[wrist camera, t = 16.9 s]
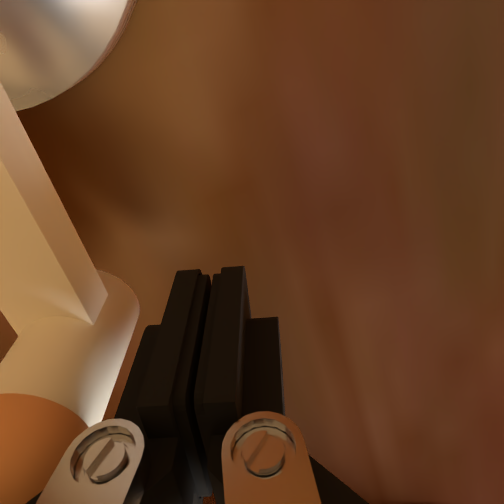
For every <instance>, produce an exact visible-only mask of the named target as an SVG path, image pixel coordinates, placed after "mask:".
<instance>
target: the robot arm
mask: <svg viewBox="0 0 504 504" xmlns="http://www.w3.org/2000/svg"><path fill="white" fill-rule="evenodd" d="M212 490H213V493H214V496H215V500H216V504H369V503H367V502H366V501H365V500H364V499H362V498H361V497H360V496H359V495H357V494H356V493H355V492H354V491H353V490H351V489H350V488H349V487H348V486H346V485H345V484H344V483H343V482H341V481H340V480H339V479H338V478H337V477H335V476H334V475H333V474H332V473H330V472H329V471H328V470H327V469H325V468H324V467H323V466H322V465H321V464H319V463H318V462H317V461H316V460H314V459H313V458H312V457H311V456H309V455H308V452H307V448H306V445H305V441H304V438H303V436H302V434H301V431H300V429H299V428H298V427H297V426H296V424H295V423H294V422H293V421H292V420H291V419H289V418H287V417H285V406H284V389H283V373H282V358H281V344H280V332H279V321H278V317H269V318H254V319H251V311H250V304H249V296H248V288H247V280H246V273H245V267H244V266H237V267H223V268H222V269H221V274H214V275H213V280H212V286H211V280H210V276H209V275H202V273H201V270H200V269H196V270H183V271H177V273H176V275H175V279H174V282H173V286H172V289H171V292H170V296H169V299H168V302H167V306H166V309H165V312H164V316H163V319H162V322H161V325H148V326H147V327H146V329H145V331H144V333H143V336H142V339H141V342H140V345H139V348H138V351H137V353H136V356H135V359H134V362H133V365H132V368H131V371H130V374H129V377H128V380H127V383H126V386H125V389H124V391H123V394H122V397H121V400H120V403H119V406H118V409H117V412H116V415H115V418H114V419H108V420H105V421H102V422H99V423H96V424H94V425H93V426H91V427H89V428H87V429H86V430H84V431H83V432H82V433H81V434H80V435H79V436H77V437H76V438H75V439H74V441H73V442H72V443H71V445H70V446H69V447H68V449H67V450H66V452H65V453H64V455H63V457H62V459H61V460H60V462H59V464H58V466H57V467H56V469H55V471H54V472H53V474H52V476H51V478H50V479H49V481H48V483H47V485H46V486H45V488H44V490H43V491H41V492H40V493H39V494H37V495H36V496H35V497H33V498H32V499H31V500H29V501H28V502H27V503H25V504H203V497H208V496H211V495H212Z"/></svg>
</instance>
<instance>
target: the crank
mask: <svg viewBox="0 0 504 504" xmlns="http://www.w3.org/2000/svg"><path fill="white" fill-rule="evenodd" d="M0 311H1V312H2V313H3V315H4V316H5V318H6V319H7V320H8V322H9V323H10V325H11V326H12V328H13V329H14V330H15V332H16V333H17V335H18V338H17V339H16V341H15V342H14V344H13V345H12V347H11V348H10V350H9V351H8V353H7V354H6V356H5V357H4V359H3V360H2V362H1V363H0V504H25V503H27V502H28V501H29V500H31V499H32V498H33V497H35V496H36V495H37V494H39V493H40V492H41V491H43V490H44V488H45V486H46V485H47V483H48V481H49V479H50V478H51V476H52V474H53V472H54V471H55V469H56V467H57V466H58V464H59V462H60V460H61V459H62V457H63V455H64V453H65V452H66V450H67V449H68V447H69V446H70V445H71V443H72V442H73V441H74V439H75V438H76V437H77V436H79V435H80V434H81V433H82V432H83V431H84V430H86V429H87V428H89V427H91V426H93V425H94V424H96V423H99V422H102V419H103V416H104V413H105V410H106V407H107V405H108V402H109V399H110V396H111V393H112V390H113V388H114V385H115V382H116V379H117V376H118V374H119V371H120V368H121V365H122V362H123V359H124V357H125V354H126V351H127V348H128V345H129V342H130V340H131V337H132V334H133V331H134V328H135V325H136V323H137V320H138V317H139V312H140V306H139V302H138V299H137V297H136V295H135V293H134V292H133V290H132V289H131V288H130V287H129V286H128V285H127V284H126V283H125V282H124V281H122V280H121V279H119V278H118V277H116V276H114V275H112V274H110V273H107V272H104V271H101V270H96V269H95V267H94V265H93V263H92V261H91V259H90V257H89V255H88V253H87V251H86V249H85V247H84V246H83V244H82V242H81V240H80V238H79V236H78V234H77V232H76V230H75V228H74V226H73V224H72V222H71V220H70V218H69V216H68V214H67V212H66V210H65V208H64V206H63V204H62V202H61V200H60V198H59V196H58V194H57V192H56V190H55V188H54V186H53V184H52V182H51V180H50V178H49V177H48V175H47V173H46V171H45V169H44V167H43V165H42V163H41V161H40V159H39V157H38V155H37V153H36V151H35V149H34V147H33V145H32V143H31V141H30V139H29V137H28V135H27V133H26V131H25V129H24V127H23V125H22V123H21V121H20V119H19V117H18V115H17V113H16V111H15V109H14V107H13V106H12V104H11V102H10V100H9V98H8V96H7V94H6V92H5V90H4V88H3V86H2V84H1V82H0Z"/></svg>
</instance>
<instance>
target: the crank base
mask: <svg viewBox="0 0 504 504" xmlns="http://www.w3.org/2000/svg"><path fill="white" fill-rule="evenodd" d="M136 2H137V0H0V82H1V84H2V86H3V88H4V90H5V92H6V94H7V96H8V98H9V100H10V102H11V104H12V106H13V107H14V109H15V111H19V110H23V109H27V108H31V107H34V106H36V105H39V104H41V103H43V102H45V101H48V100H50V99H52V98H54V97H56V96H58V95H59V94H61V93H63V92H65V91H67V90H68V89H70V88H71V87H73V86H74V85H76V84H78V83H79V82H81V81H82V80H84V79H85V78H86V77H87V76H89V75H90V74H91V73H92V72H93V71H94V70H95V69H96V68H97V67H98V66H100V65H101V64H102V62H103V61H104V60H105V59H106V57H107V56H108V55H109V54H110V52H111V51H112V50H113V49H114V47H115V46H116V44H117V42H118V41H119V39H120V37H121V35H122V34H123V32H124V30H125V28H126V27H127V24H128V22H129V19H130V17H131V14H132V12H133V9H134V7H135V4H136Z"/></svg>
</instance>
